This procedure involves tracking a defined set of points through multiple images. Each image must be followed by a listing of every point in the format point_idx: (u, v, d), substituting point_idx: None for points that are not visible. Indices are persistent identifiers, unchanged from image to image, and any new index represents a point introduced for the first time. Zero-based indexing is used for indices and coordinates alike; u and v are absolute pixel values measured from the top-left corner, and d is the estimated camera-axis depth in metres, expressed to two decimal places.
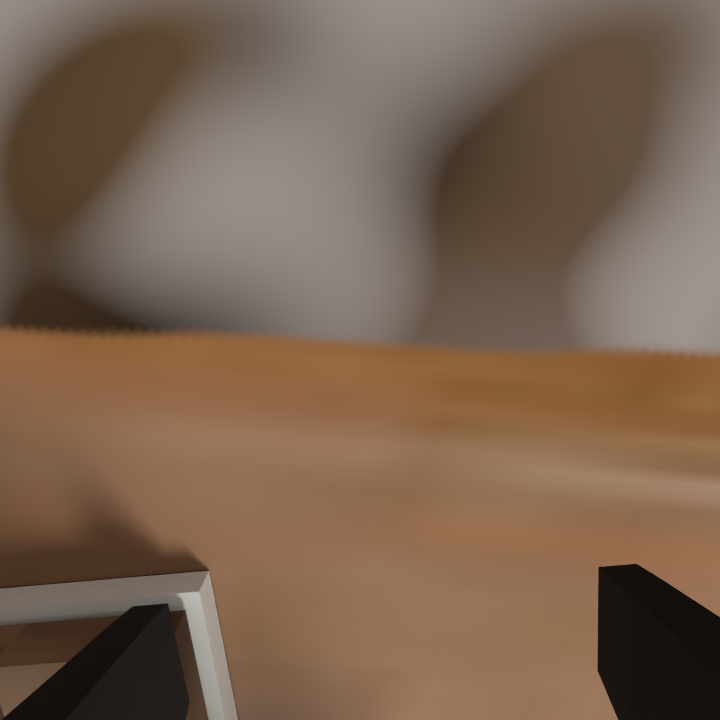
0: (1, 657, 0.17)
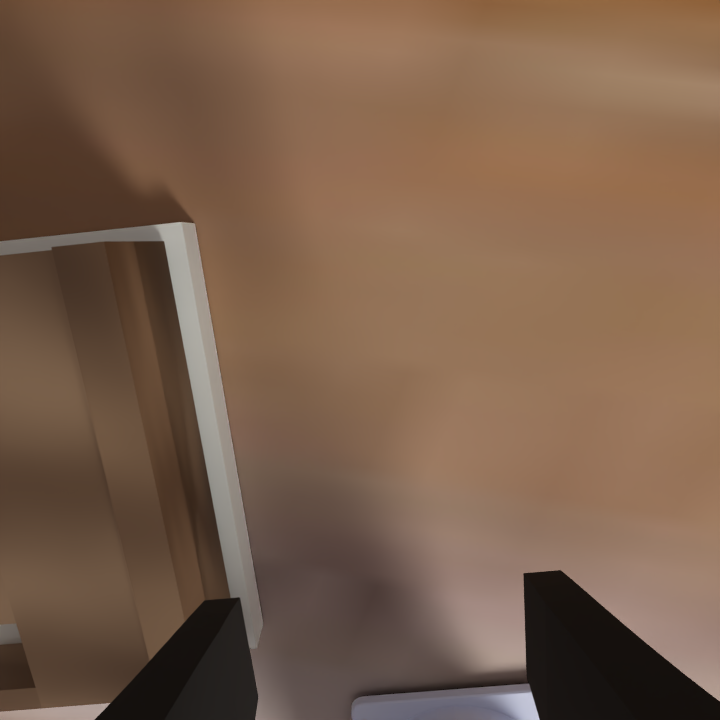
0: None
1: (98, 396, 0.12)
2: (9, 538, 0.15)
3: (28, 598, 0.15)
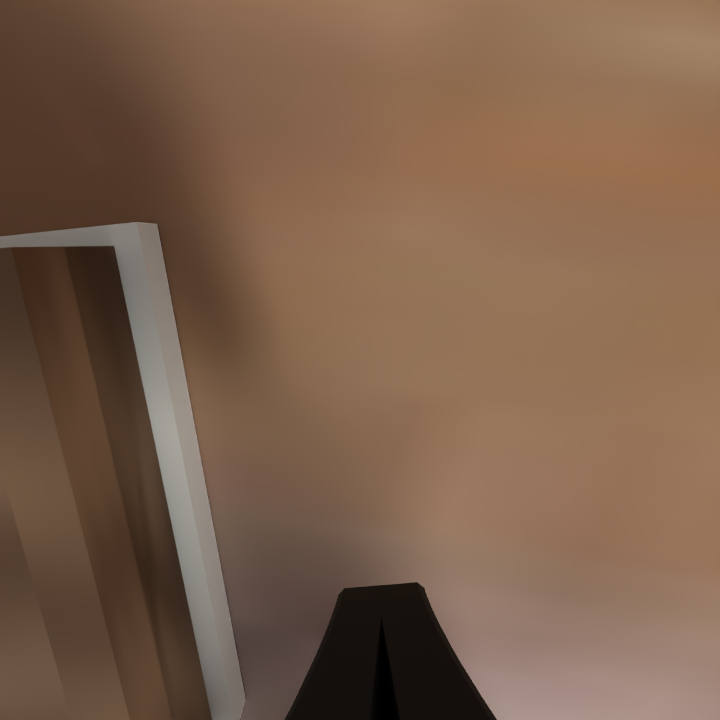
0: None
1: (11, 453, 0.09)
2: None
3: None
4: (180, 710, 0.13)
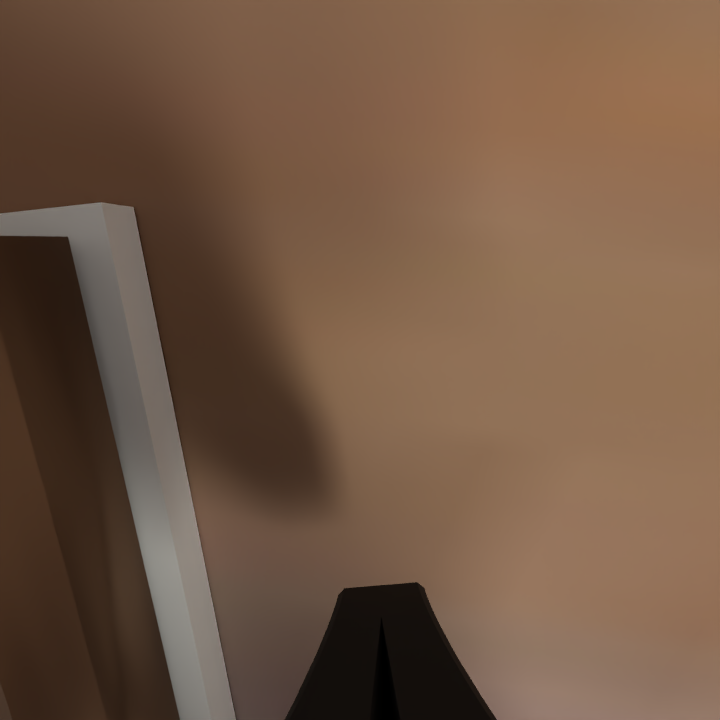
0: None
1: None
2: None
3: None
4: None
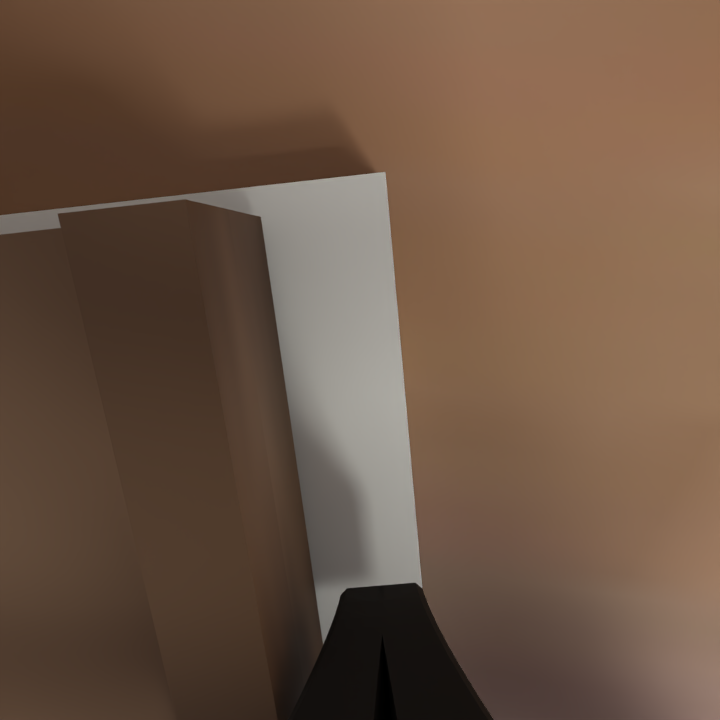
0: None
1: (162, 549, 0.05)
2: None
3: None
4: None
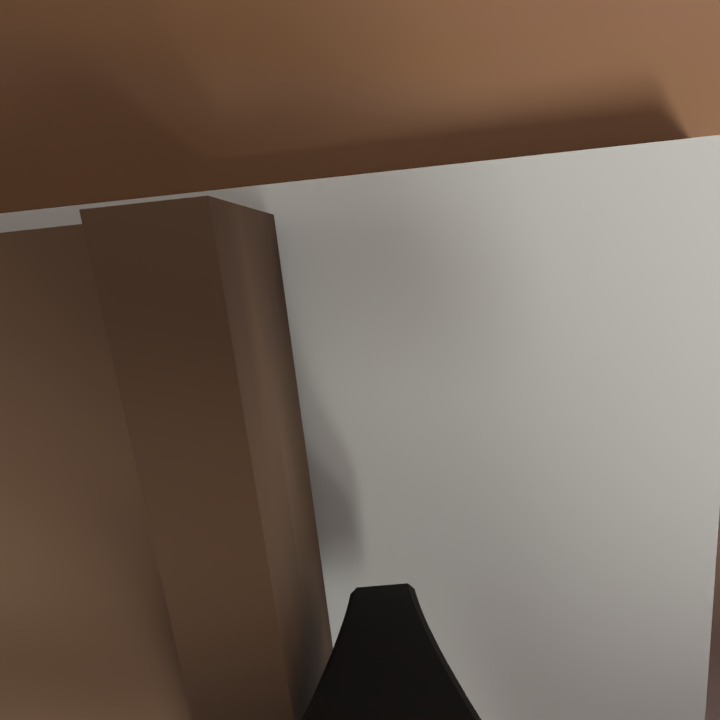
0: None
1: (180, 547, 0.05)
2: None
3: None
4: None
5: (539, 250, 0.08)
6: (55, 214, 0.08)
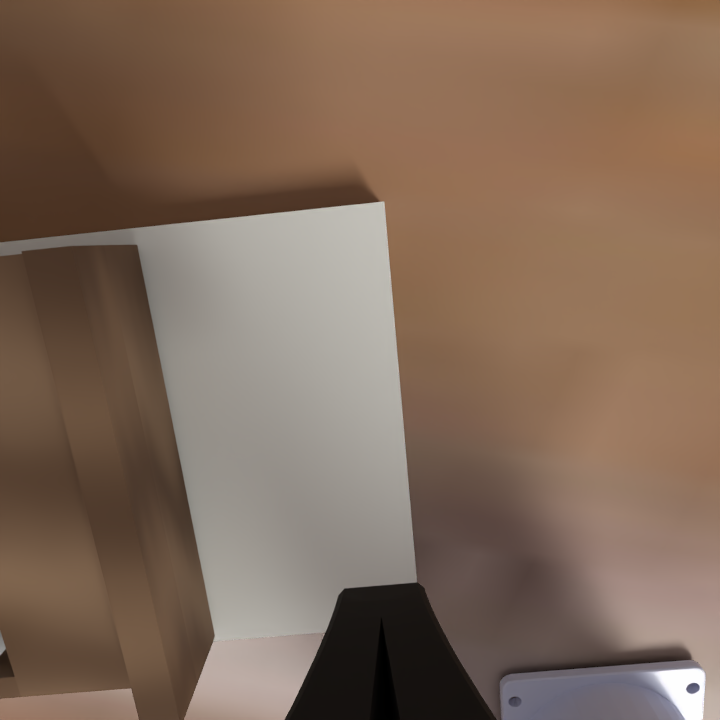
0: None
1: (68, 394, 0.13)
2: None
3: (6, 590, 0.16)
4: (188, 607, 0.16)
5: (282, 263, 0.16)
6: (21, 243, 0.15)
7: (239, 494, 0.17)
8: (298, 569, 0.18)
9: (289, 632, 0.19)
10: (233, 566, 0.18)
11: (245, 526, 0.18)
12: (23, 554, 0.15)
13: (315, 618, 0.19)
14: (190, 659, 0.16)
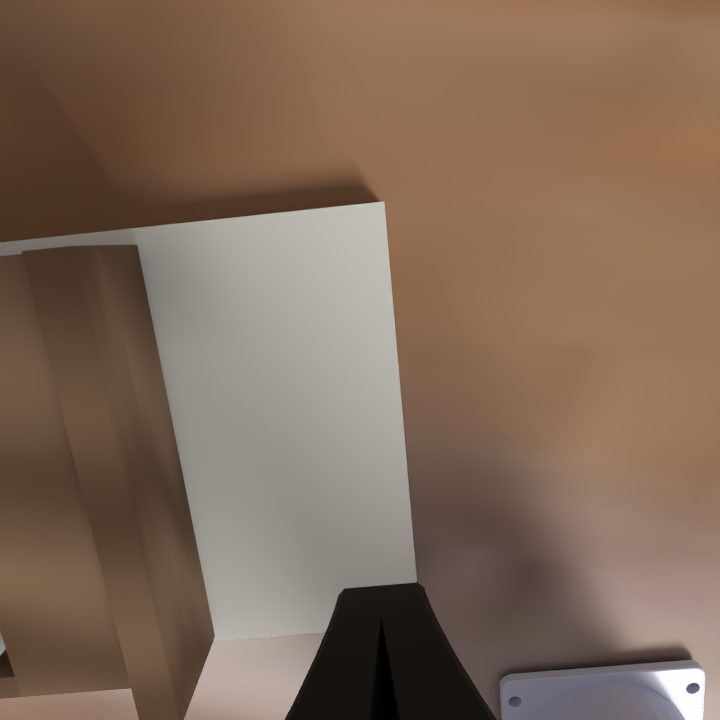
0: None
1: (68, 394, 0.13)
2: None
3: (6, 590, 0.16)
4: (188, 607, 0.16)
5: (282, 263, 0.16)
6: (21, 243, 0.15)
7: (239, 494, 0.17)
8: (298, 569, 0.18)
9: (289, 632, 0.19)
10: (233, 566, 0.18)
11: (245, 526, 0.18)
12: (23, 554, 0.15)
13: (315, 618, 0.19)
14: (190, 659, 0.16)
